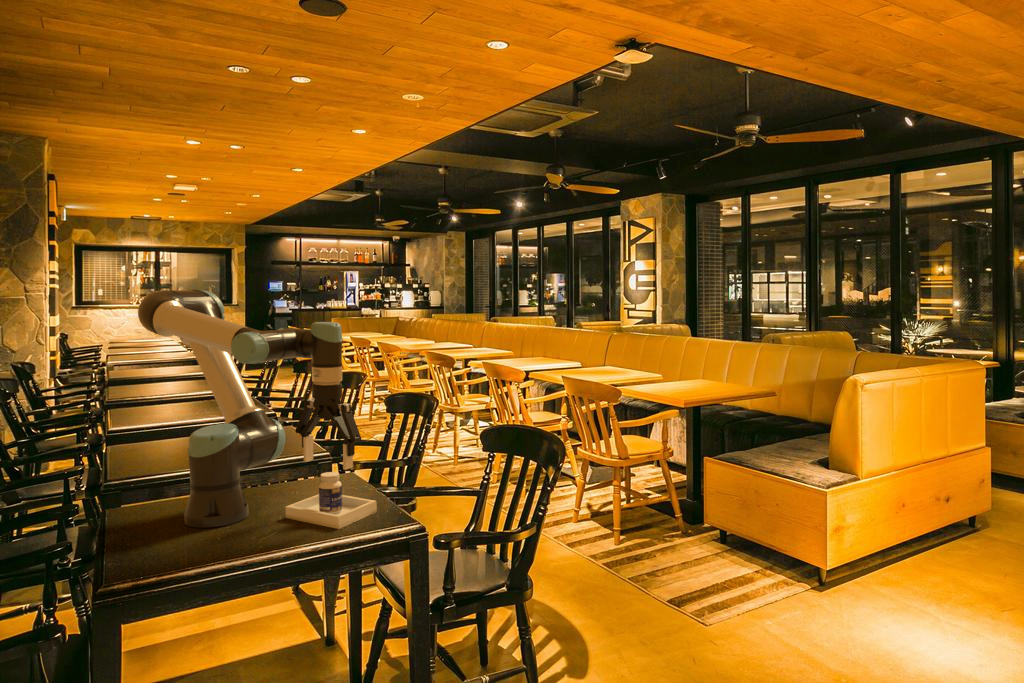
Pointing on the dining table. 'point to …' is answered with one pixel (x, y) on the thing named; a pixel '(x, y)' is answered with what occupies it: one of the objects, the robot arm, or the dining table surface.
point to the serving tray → (350, 513)
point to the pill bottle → (330, 493)
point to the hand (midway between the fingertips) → (327, 464)
